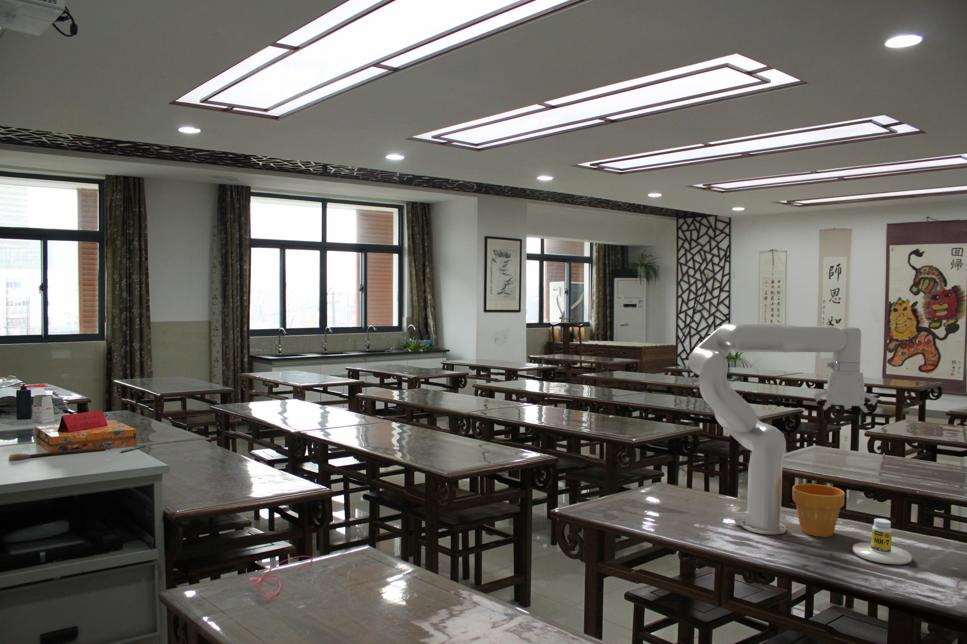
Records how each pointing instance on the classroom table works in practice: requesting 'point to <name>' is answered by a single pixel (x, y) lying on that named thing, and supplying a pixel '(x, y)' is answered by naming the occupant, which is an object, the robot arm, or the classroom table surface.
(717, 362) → the robot arm
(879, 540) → the supplement bottle
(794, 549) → the classroom table surface
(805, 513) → the flower pot
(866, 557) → the dish
